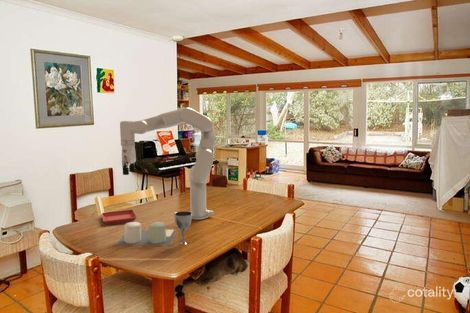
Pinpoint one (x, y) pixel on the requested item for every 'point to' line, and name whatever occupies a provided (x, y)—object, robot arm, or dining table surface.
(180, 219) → the wine glass
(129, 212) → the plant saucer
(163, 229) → the sage cup
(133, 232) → the white cup
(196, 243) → the dining table surface
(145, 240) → the mat
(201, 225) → the dining table surface
